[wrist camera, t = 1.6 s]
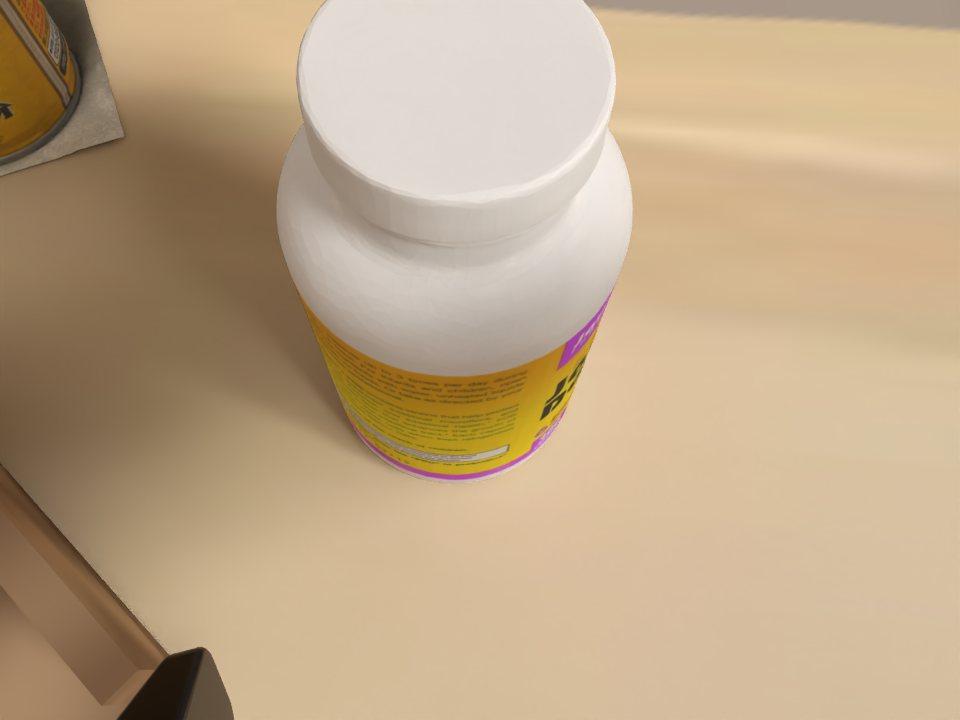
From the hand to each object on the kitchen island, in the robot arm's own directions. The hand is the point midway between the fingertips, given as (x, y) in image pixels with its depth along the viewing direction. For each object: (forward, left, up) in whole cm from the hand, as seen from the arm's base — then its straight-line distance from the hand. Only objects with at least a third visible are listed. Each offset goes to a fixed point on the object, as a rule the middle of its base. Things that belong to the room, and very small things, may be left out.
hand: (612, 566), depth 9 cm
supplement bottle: (+5, +5, -13) cm, 15 cm away
